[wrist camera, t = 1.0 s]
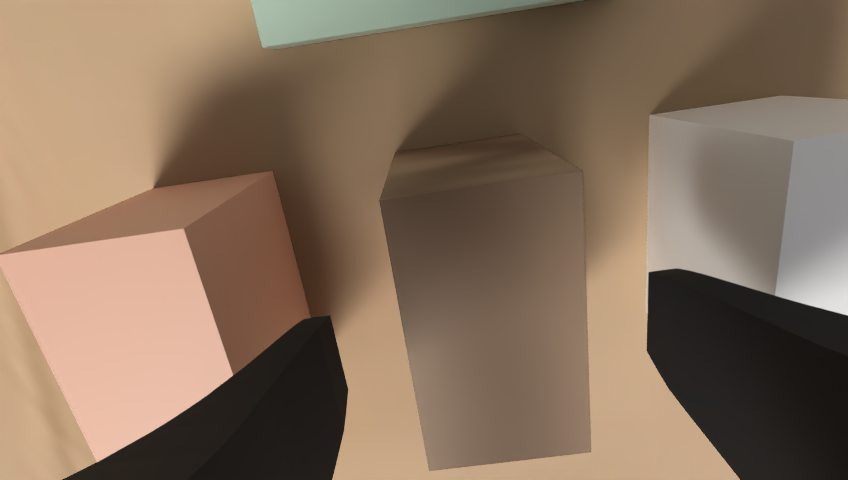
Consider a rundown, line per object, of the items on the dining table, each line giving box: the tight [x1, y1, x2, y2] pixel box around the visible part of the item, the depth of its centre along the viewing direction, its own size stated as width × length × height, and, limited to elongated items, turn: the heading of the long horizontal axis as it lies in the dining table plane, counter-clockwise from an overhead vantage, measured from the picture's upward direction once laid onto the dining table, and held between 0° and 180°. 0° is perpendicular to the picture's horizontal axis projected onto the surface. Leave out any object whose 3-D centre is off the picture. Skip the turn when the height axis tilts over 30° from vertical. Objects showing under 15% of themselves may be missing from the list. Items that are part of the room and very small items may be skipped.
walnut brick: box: [379, 134, 591, 471], centre depth 13 cm, size 4×7×6 cm, turn 8°
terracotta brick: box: [0, 171, 311, 462], centre depth 13 cm, size 4×7×6 cm, turn 8°
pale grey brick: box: [646, 96, 848, 315], centre depth 13 cm, size 4×7×6 cm, turn 8°
